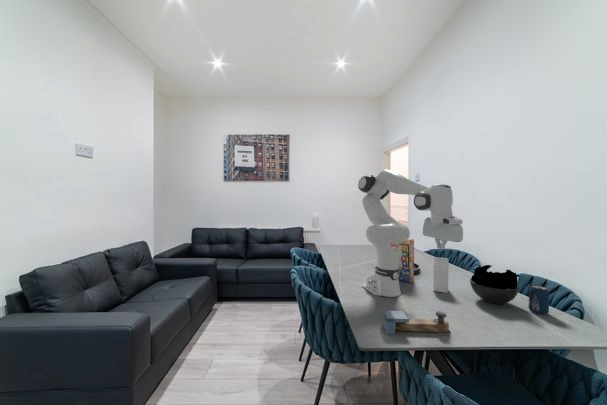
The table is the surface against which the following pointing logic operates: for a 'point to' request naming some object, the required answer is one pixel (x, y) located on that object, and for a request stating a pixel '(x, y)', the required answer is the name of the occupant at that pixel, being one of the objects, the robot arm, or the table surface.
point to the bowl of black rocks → (494, 285)
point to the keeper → (392, 320)
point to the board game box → (405, 259)
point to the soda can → (539, 300)
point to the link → (425, 324)
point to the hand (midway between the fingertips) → (440, 248)
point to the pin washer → (444, 333)
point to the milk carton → (441, 274)
